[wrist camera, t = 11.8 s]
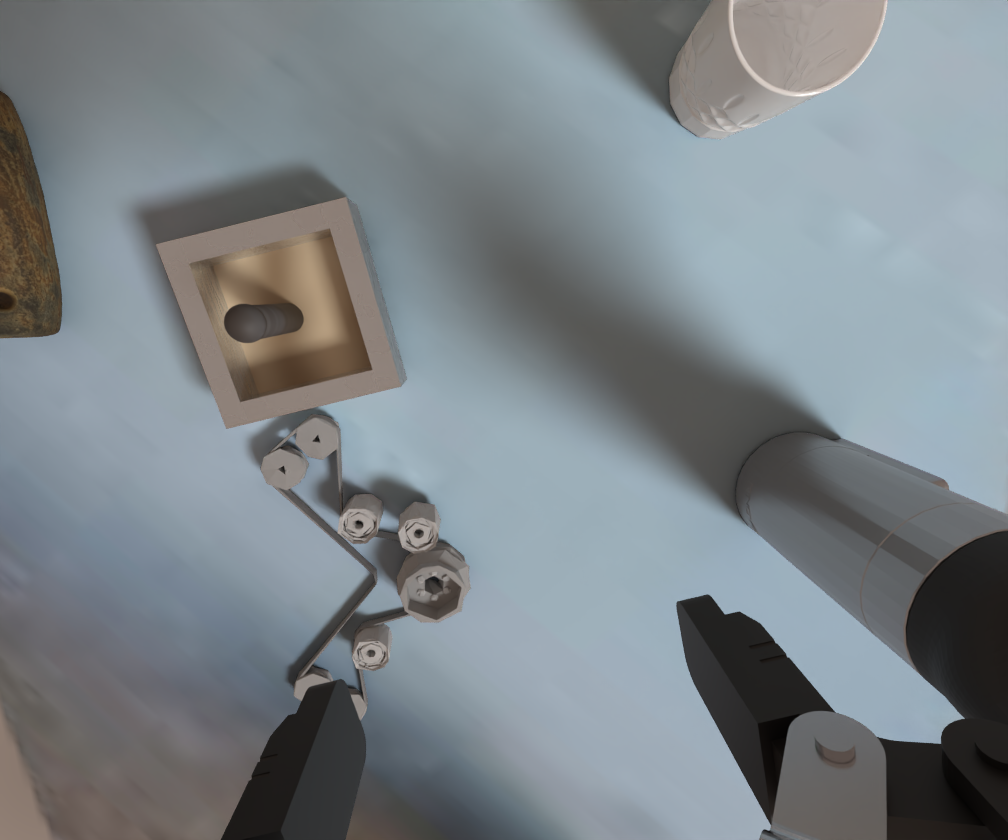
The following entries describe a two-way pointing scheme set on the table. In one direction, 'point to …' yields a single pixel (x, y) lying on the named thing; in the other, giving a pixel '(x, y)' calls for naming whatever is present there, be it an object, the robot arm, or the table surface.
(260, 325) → the wooden board with peg
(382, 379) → the link
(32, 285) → the brown cylinder
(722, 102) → the white cup
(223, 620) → the table surface
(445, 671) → the table surface
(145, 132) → the table surface
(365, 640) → the pulley system
